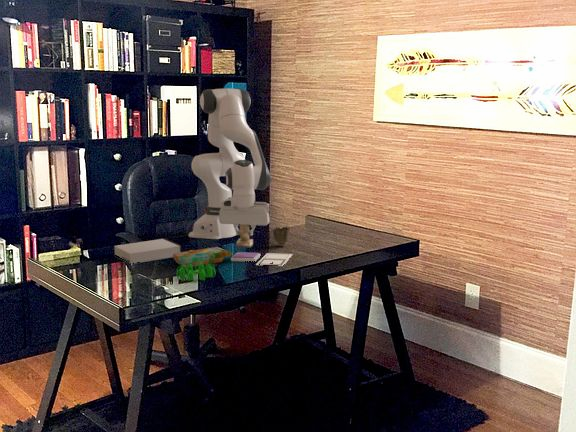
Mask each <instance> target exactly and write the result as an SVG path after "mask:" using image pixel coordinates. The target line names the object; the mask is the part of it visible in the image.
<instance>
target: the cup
mask: <svg viewBox="0 0 576 432" xmlns="http://www.w3.org/2000/svg"><path fill="white" fill-rule="evenodd" d="M272 234H273V240H274V241H275V242H276V243H277V244H276V245H277V246H278V247H281V248H282V247H285V246H286V245H287V244H286V243H287V242H288V240H289V239H290V228H289V227H287V226H283V227H282V228H281V227H280V226H276V227H274V228H272Z"/></svg>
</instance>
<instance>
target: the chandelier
mask: <svg viewBox="0 0 576 432" xmlns="http://www.w3.org/2000/svg"><path fill="white" fill-rule="evenodd" d="M198 260H199V259H197V258H195V259H192V261H195V267H193V266H192V264H191V263H188V265H187V267H185V266H183V265H179V266H177V268H176V278H177V279H178V280H179V281H180V280H187V281H188V282H190V283H191V282H192V281H194V279H195V275H197V274H198V279H199V280H200V281H202V282H204V281H205V280H206V279H207V278H211V279H214V277H215V276H216V268H215V266H214V265H213V263H212V264H206V265H203V263H200V264H199V266H196V261H198Z"/></svg>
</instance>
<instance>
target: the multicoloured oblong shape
mask: <svg viewBox="0 0 576 432" xmlns="http://www.w3.org/2000/svg"><path fill="white" fill-rule="evenodd" d="M231 256H232V252H231V251H229V250H226V249H223V248H221V247H218V246H215V247H209V248H203V249H201V248H200V249H196V250H195V249H190V250H188V251H182V252H181V253H175V254H173V257H172V258H173V259H174V261H175V262H176V263H177V264H178V265H179V266H185V267H186V268H187V265H188V263H191V264H192V266H193V268H195V261H192V259H195V258H197V259H199V260H198V261H196V267H198V266H199V264H200V263H203V265H204V266H206V265H207V264H212V265H213V264H217V263H221V262H223V261H224V259H225V258H227V257H231ZM185 267H184V268H185Z"/></svg>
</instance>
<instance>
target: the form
mask: <svg viewBox="0 0 576 432" xmlns="http://www.w3.org/2000/svg"><path fill="white" fill-rule="evenodd" d="M293 255H294V254H293V253H273V252H267V253H265V255H264V256H263V257H262V258H261V259H260V260H258V261H257V263H255V266H263V265H278V266H277V267H284V266H285V265H286V264H287V262H288V261H289V260H290V259H291V257H292V256H293ZM289 258H290V259H289ZM272 262H273V264H270V263H272ZM259 264H260V265H259ZM284 264H285V265H284ZM283 265H284V266H283Z"/></svg>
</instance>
